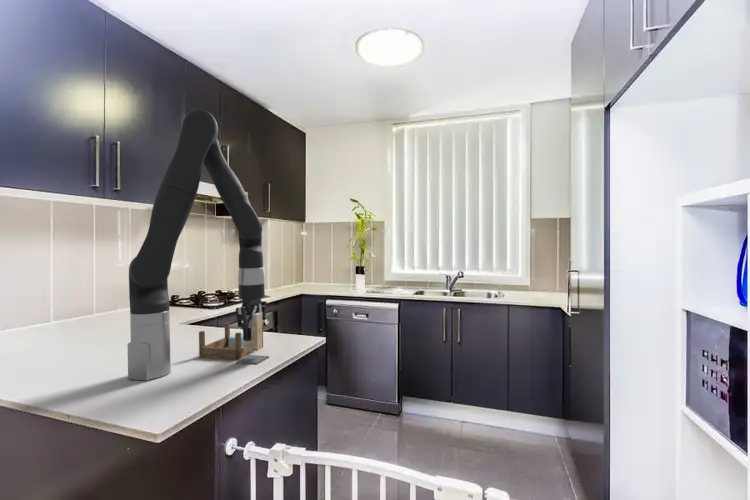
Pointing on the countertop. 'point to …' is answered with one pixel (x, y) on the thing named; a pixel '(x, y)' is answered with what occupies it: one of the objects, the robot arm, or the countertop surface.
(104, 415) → the countertop surface
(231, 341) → the offcut top
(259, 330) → the box
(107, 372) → the countertop surface
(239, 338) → the frame
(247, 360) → the mat
